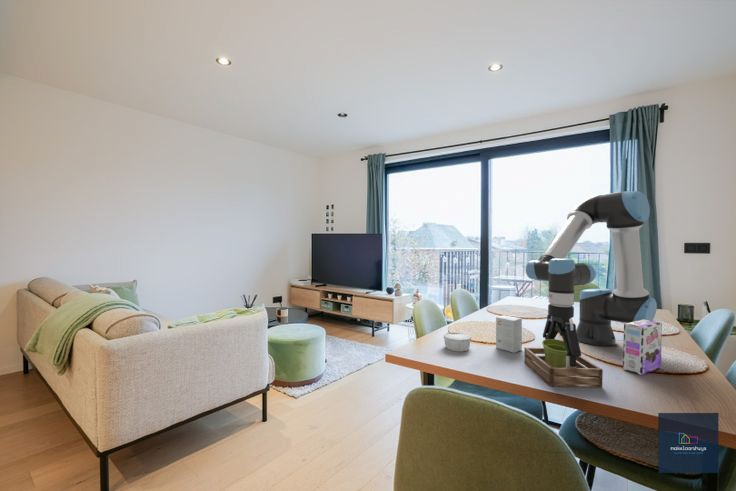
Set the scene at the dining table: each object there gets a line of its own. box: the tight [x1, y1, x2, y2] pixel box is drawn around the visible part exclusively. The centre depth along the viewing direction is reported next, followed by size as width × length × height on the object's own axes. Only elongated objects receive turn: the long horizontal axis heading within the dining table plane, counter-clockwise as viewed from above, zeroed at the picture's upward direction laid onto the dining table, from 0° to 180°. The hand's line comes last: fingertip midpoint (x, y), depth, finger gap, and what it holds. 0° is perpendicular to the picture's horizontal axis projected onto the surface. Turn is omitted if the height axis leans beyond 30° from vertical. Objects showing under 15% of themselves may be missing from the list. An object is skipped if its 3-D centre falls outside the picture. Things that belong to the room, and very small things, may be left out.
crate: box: [523, 347, 604, 389], centre depth 113 cm, size 16×20×6 cm
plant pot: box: [541, 338, 567, 368], centre depth 116 cm, size 9×9×9 cm
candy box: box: [622, 319, 663, 376], centre depth 118 cm, size 14×6×16 cm, turn 117°
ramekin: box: [443, 332, 472, 353], centre depth 140 cm, size 11×11×5 cm
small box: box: [495, 314, 523, 353], centre depth 139 cm, size 8×6×13 cm
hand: (559, 367), depth 113 cm, fingers open, 13 cm apart
